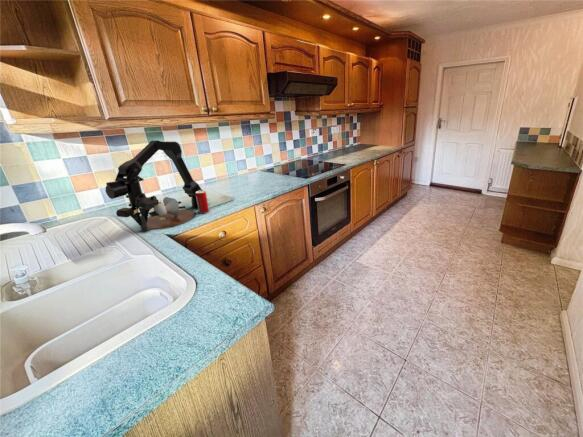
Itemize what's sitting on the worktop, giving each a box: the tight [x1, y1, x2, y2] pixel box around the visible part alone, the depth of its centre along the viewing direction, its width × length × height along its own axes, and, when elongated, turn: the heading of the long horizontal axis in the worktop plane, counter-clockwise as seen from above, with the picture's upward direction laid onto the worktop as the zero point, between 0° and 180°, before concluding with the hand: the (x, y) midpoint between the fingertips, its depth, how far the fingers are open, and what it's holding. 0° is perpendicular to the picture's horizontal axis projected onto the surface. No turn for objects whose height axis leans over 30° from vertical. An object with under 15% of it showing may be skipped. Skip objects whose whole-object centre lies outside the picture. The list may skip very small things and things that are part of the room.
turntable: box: [139, 209, 195, 233], centre depth 133 cm, size 29×25×7 cm
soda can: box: [196, 189, 210, 214], centre depth 141 cm, size 6×6×12 cm
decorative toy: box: [148, 196, 187, 220], centre depth 135 cm, size 12×10×20 cm
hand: (143, 223), depth 122 cm, fingers closed on turntable, 3 cm apart
